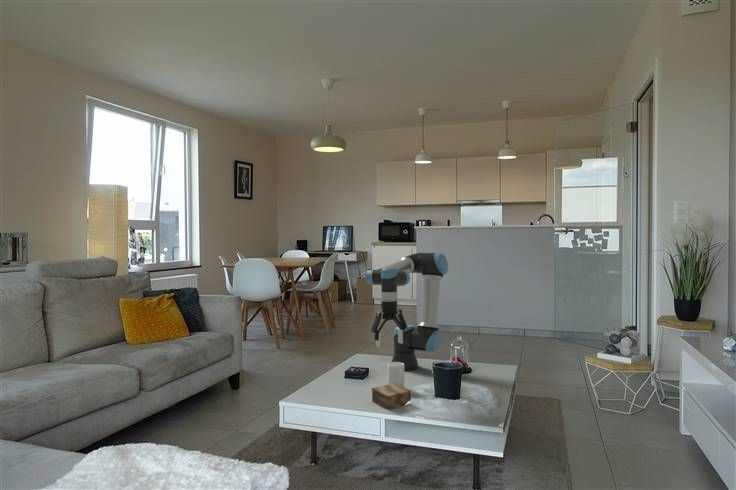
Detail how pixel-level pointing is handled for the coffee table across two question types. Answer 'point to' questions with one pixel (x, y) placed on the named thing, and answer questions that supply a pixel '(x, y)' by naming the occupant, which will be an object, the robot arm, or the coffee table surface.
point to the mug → (395, 373)
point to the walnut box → (391, 396)
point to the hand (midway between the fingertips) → (389, 345)
